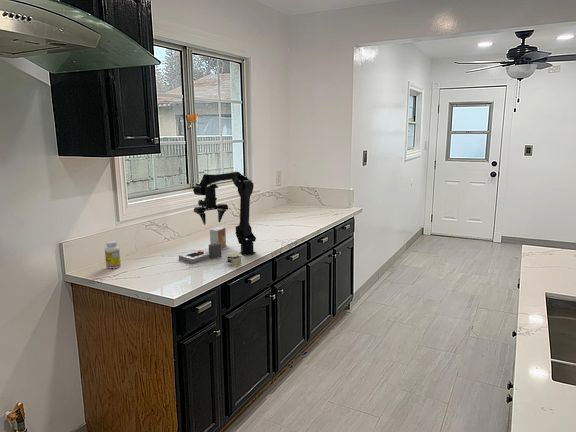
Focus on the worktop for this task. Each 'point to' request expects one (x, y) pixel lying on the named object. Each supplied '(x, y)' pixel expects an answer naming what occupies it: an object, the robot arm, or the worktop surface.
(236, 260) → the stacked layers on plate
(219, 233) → the small box
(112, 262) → the supplement bottle
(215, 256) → the plug
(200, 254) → the socket plate
